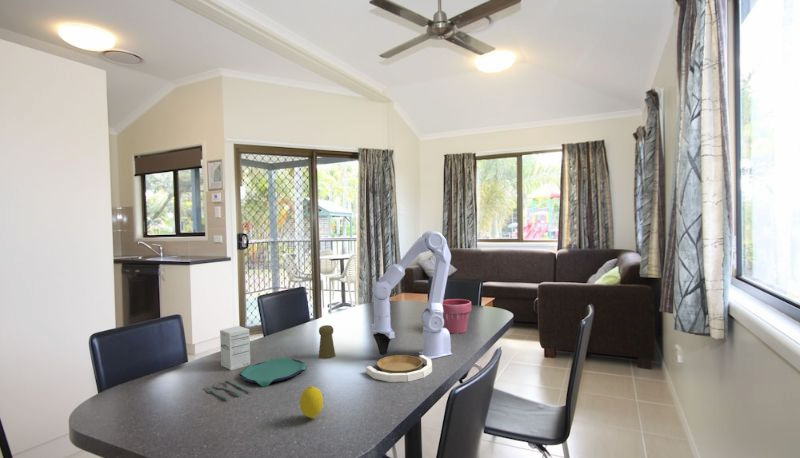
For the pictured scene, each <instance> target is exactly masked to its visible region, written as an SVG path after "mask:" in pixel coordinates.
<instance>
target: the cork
mask: <svg viewBox="0 0 800 458" xmlns="http://www.w3.org/2000/svg"><path fill="white" fill-rule="evenodd" d="M318 334H319V335H320V339H319V350H318V358H319V359H321V360H327V359H333V358H335V357H336V351H335V345H334V340H333V334H334V328H333V326H332V325H322V326H320V327H319V328H318Z"/></svg>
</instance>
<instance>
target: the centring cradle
mask: <svg viewBox="0 0 800 458" xmlns="http://www.w3.org/2000/svg"><path fill="white" fill-rule="evenodd" d="M418 358H419V359H421V360H422V362H423V363H422V365H424V367H422V368H420V369H418V370H417V371H413V372H409V373H386V372H383V371H382V370H381V371H380V370H378V369H376V368H374V367H373V366H372V365H368V366H366V368H365V369H366V371H365V372H366V374H367V375H369V376H370V377H371V378H372V379H374V380H378V381H383V382H387V383H388V382H389V383H400V382H404V383H406V382H411V381H415V380H419V379H423V378H426V377H427V376H428V375H430V374H431V373H432V372H433V361H432V359H430V358H428V357H426V356H424V355H421V354H419V355H418Z"/></svg>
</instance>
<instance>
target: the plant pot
mask: <svg viewBox="0 0 800 458" xmlns="http://www.w3.org/2000/svg"><path fill="white" fill-rule="evenodd" d="M442 306H443V319H444V326H443V328H446V329H447V330H448V331H449V333H450V334H454V335H456V334H459V333H460V334H465V333H466V332H467V330H468V325H469V319H470V314H471V313H470V312H472V301H471V300H469V299H462V298H453V299H450V298H449V299H443V304H442ZM460 334H459V335H460Z"/></svg>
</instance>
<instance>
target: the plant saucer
mask: <svg viewBox="0 0 800 458" xmlns="http://www.w3.org/2000/svg"><path fill="white" fill-rule="evenodd" d="M376 365H377V366H378V368H379V369H380V370H381V372H386V373H409V372H413V371H417V370H420V369H421V367H422V365H423V362H422V360H421V359H419V357H417V356H413V355H408V354H396V355H393V354H392V355H388V356H385V357H382V358H380V359H378V361H377V362H376Z"/></svg>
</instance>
